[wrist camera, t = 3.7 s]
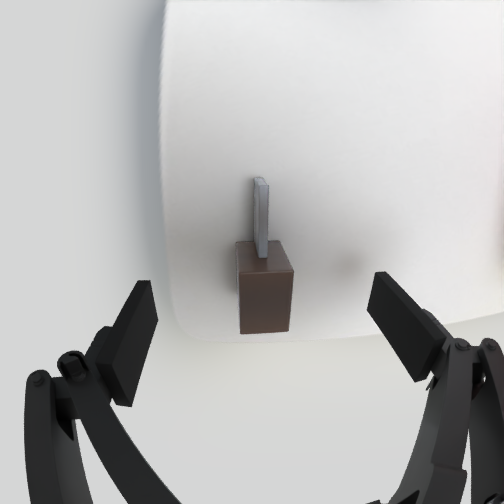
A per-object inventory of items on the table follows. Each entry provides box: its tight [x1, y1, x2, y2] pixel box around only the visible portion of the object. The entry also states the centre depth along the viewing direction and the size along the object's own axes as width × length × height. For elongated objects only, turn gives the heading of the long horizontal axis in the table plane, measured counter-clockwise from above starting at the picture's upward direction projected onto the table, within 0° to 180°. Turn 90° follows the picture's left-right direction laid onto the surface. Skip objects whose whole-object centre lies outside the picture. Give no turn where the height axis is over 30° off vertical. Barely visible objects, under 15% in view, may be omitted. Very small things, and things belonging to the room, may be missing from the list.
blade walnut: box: [236, 178, 294, 334], centre depth 16 cm, size 8×3×4 cm, turn 0°
